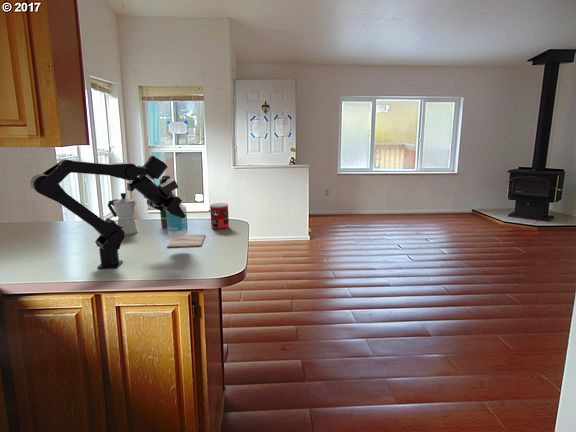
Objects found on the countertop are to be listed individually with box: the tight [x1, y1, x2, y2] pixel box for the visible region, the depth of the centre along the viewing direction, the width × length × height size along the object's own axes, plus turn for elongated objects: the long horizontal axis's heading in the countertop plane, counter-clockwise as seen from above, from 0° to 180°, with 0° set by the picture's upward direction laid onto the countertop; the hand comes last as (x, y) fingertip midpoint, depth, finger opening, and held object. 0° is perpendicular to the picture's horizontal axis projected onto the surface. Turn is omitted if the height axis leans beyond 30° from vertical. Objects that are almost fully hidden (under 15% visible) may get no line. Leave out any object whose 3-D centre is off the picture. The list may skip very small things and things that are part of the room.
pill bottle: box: [166, 198, 189, 237], centre depth 150 cm, size 8×7×14 cm
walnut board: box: [166, 234, 206, 249], centre depth 164 cm, size 16×13×1 cm
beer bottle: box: [159, 175, 175, 229], centre depth 188 cm, size 8×8×24 cm
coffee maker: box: [107, 192, 138, 236], centre depth 178 cm, size 15×9×18 cm, turn 74°
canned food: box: [209, 202, 230, 231], centre depth 185 cm, size 8×8×11 cm
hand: (179, 215), depth 151 cm, fingers closed on pill bottle, 7 cm apart
